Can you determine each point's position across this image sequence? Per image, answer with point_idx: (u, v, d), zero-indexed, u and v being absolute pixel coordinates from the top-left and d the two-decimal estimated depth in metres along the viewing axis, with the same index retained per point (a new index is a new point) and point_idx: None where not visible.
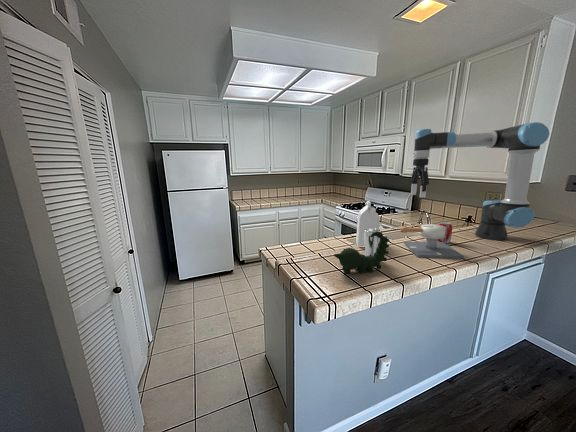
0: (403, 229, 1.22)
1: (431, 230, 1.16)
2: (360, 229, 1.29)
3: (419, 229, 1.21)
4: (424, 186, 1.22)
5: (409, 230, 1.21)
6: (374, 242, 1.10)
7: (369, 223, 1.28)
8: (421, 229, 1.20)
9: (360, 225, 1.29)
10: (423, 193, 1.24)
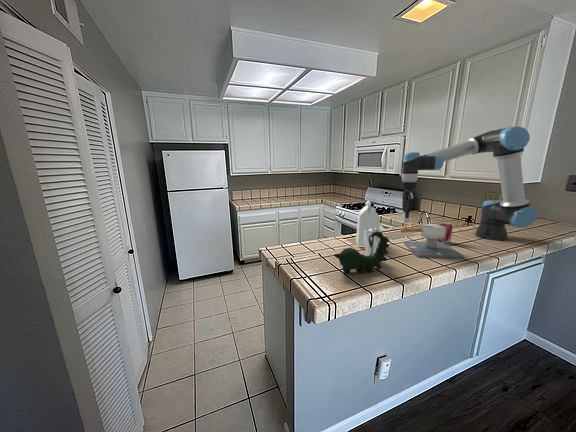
0: (403, 229, 1.22)
1: (431, 230, 1.16)
2: (360, 229, 1.29)
3: (419, 229, 1.21)
4: (407, 213, 1.26)
5: (409, 230, 1.21)
6: (374, 242, 1.10)
7: (369, 223, 1.28)
8: (421, 229, 1.20)
9: (360, 225, 1.29)
10: (406, 219, 1.28)
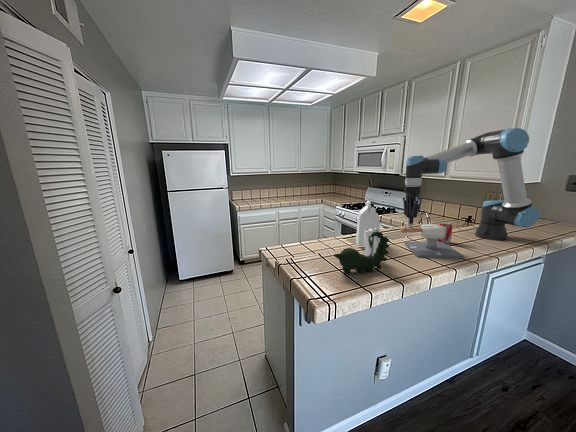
0: (403, 229, 1.21)
1: (431, 230, 1.16)
2: (360, 229, 1.29)
3: (419, 229, 1.20)
4: (411, 218, 1.21)
5: (409, 230, 1.21)
6: (374, 242, 1.10)
7: (369, 223, 1.28)
8: (421, 229, 1.20)
9: (360, 225, 1.29)
10: (410, 225, 1.23)
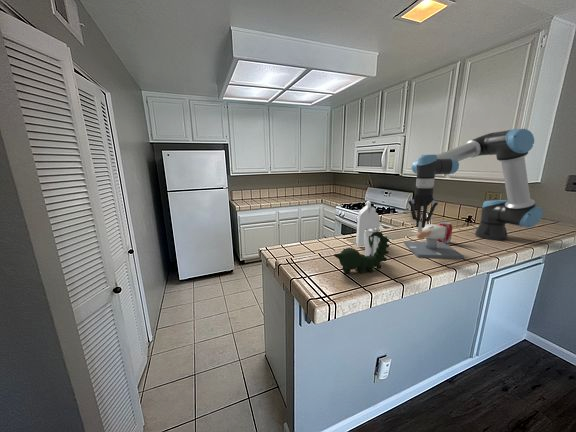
0: (423, 235, 1.10)
1: (441, 230, 1.15)
2: (360, 229, 1.29)
3: (429, 232, 1.15)
4: None
5: (425, 235, 1.13)
6: (374, 242, 1.10)
7: (369, 223, 1.28)
8: (430, 231, 1.16)
9: (360, 225, 1.29)
10: (421, 229, 1.14)
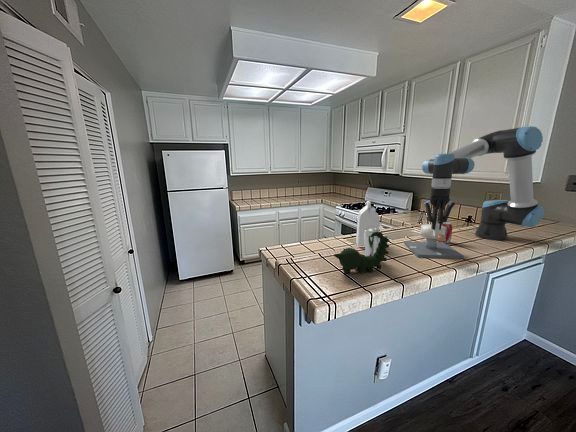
0: None
1: (445, 229, 1.16)
2: (360, 229, 1.29)
3: None
4: None
5: None
6: (374, 242, 1.10)
7: (369, 223, 1.28)
8: None
9: (360, 225, 1.29)
10: None
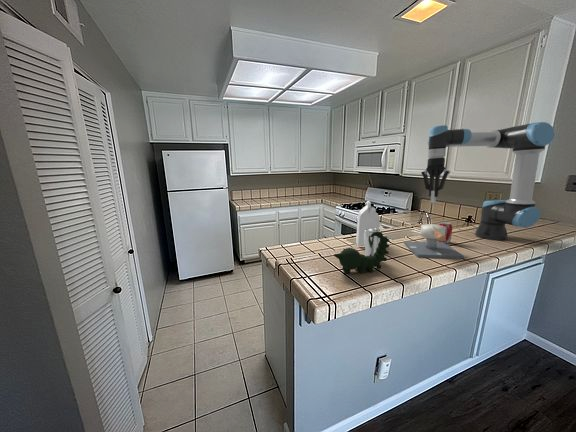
0: (445, 237, 1.06)
1: (445, 229, 1.16)
2: (360, 229, 1.29)
3: None
4: (437, 191, 1.19)
5: None
6: (374, 242, 1.10)
7: (369, 223, 1.28)
8: None
9: (360, 225, 1.29)
10: (434, 198, 1.21)
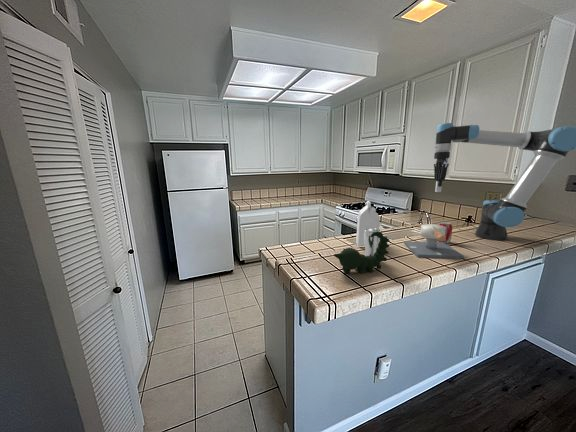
0: (445, 237, 1.06)
1: (445, 229, 1.16)
2: (360, 229, 1.29)
3: None
4: (440, 181, 1.34)
5: None
6: (374, 242, 1.10)
7: (369, 223, 1.28)
8: None
9: (360, 225, 1.29)
10: (439, 188, 1.36)
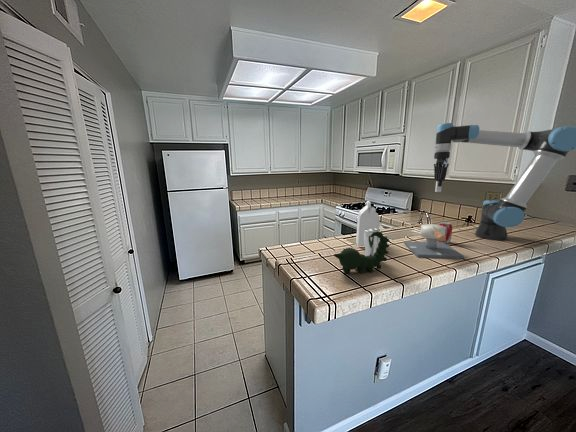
0: (445, 237, 1.06)
1: (445, 229, 1.16)
2: (360, 229, 1.29)
3: None
4: (440, 181, 1.34)
5: None
6: (374, 242, 1.10)
7: (369, 223, 1.28)
8: None
9: (360, 225, 1.29)
10: (439, 188, 1.36)
